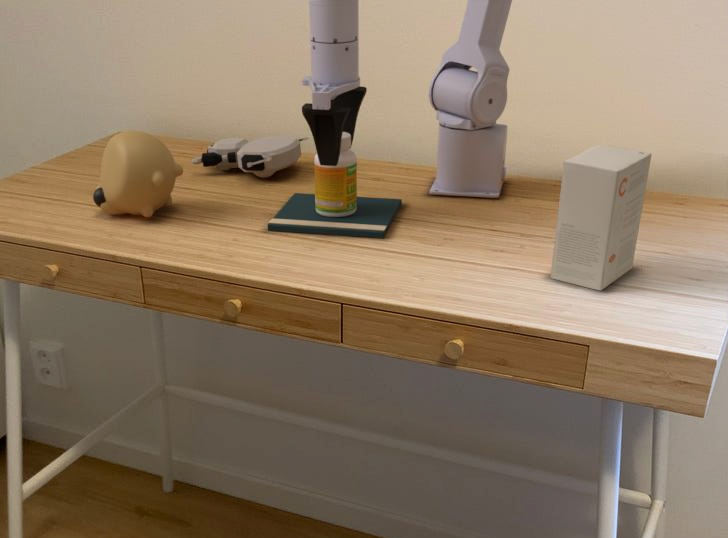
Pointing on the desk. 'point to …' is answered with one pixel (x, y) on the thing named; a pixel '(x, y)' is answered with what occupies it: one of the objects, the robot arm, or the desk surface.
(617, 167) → the small box
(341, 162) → the supplement bottle
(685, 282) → the desk surface
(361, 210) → the teal notebook
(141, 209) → the toy pig
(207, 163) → the robot toy
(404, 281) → the desk surface
